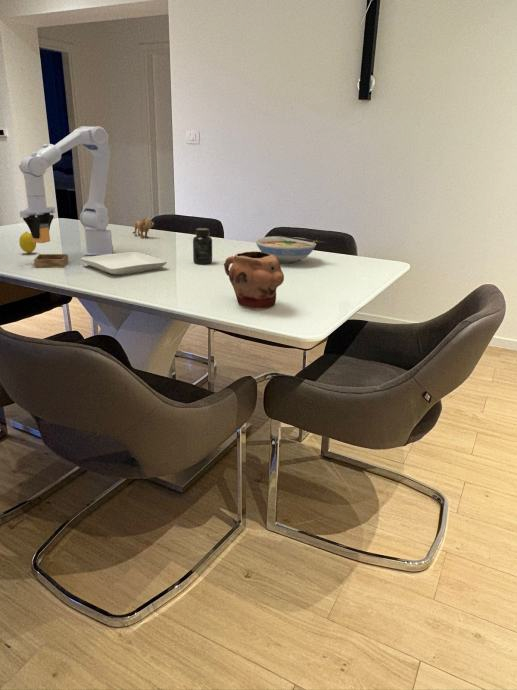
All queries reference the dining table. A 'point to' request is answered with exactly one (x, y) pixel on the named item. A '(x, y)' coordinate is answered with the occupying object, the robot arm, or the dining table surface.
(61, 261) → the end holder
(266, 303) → the decorative planter
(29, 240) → the lemon
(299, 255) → the ramen bowl
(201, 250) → the supplement bottle
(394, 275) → the dining table surface
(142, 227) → the lion figurine
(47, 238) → the honey jar
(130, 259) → the salad plate
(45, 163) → the robot arm
